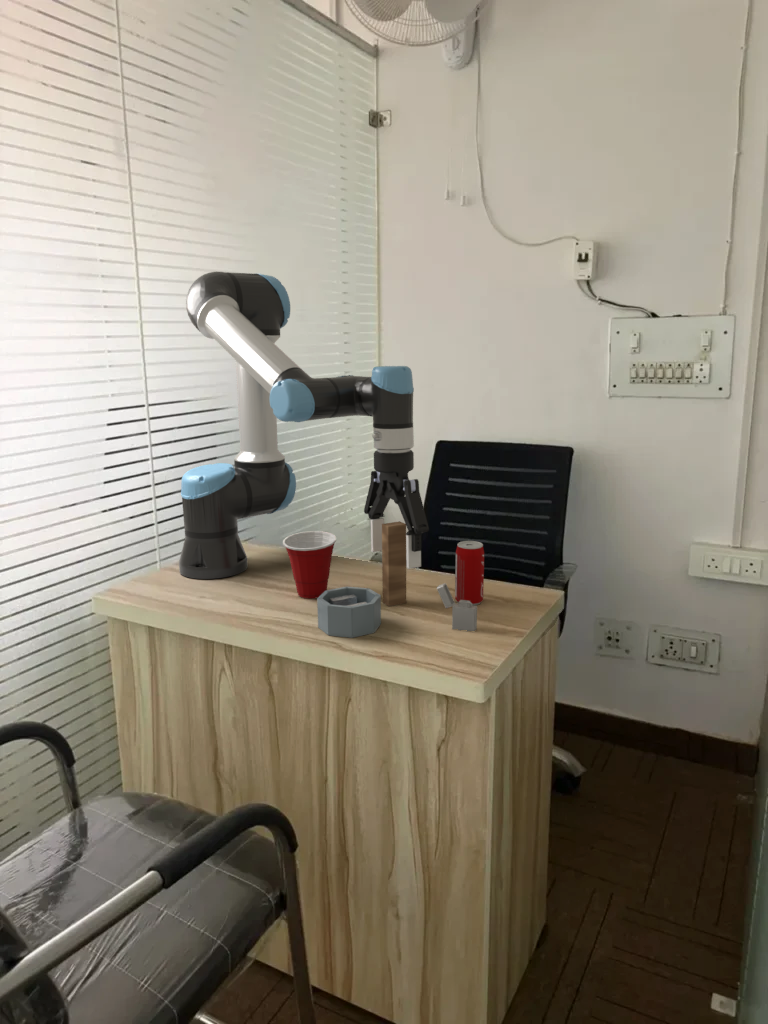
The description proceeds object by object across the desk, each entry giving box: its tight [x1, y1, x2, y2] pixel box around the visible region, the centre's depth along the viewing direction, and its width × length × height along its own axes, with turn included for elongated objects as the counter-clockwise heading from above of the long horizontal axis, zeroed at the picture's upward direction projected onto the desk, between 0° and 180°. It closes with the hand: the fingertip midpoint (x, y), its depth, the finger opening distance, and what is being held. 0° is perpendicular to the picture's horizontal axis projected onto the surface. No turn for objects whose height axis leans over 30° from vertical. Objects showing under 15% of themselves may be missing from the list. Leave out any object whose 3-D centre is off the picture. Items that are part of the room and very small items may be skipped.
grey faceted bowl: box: [316, 586, 382, 639], centre depth 134 cm, size 11×11×6 cm
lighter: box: [436, 582, 478, 632], centre depth 132 cm, size 7×2×8 cm, turn 68°
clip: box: [329, 594, 366, 606], centre depth 134 cm, size 6×5×4 cm
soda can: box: [454, 540, 485, 606], centre depth 145 cm, size 6×6×12 cm
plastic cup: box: [282, 530, 337, 599], centre depth 150 cm, size 11×11×12 cm
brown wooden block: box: [381, 521, 407, 607], centre depth 144 cm, size 2×4×16 cm, turn 120°
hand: (395, 558), depth 144 cm, fingers open, 13 cm apart
